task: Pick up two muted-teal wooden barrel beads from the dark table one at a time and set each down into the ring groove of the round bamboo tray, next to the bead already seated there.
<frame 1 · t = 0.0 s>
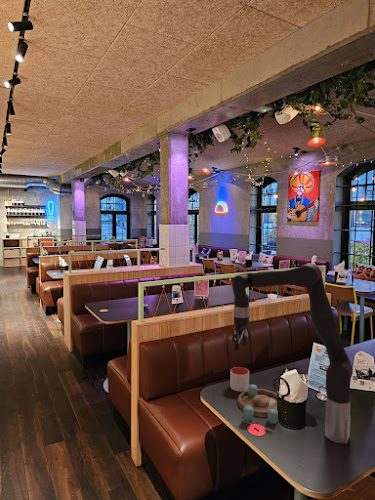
hand: (240, 347, 169), 29 cm above the table, fingers open, 8 cm apart
tray: (260, 405, 171), on the table
cup: (239, 389, 187), on the table
bead c: (252, 396, 177), point 1 cm above the table, touching tray
bead a: (272, 423, 156), on the table
bead b: (248, 419, 159), on the table
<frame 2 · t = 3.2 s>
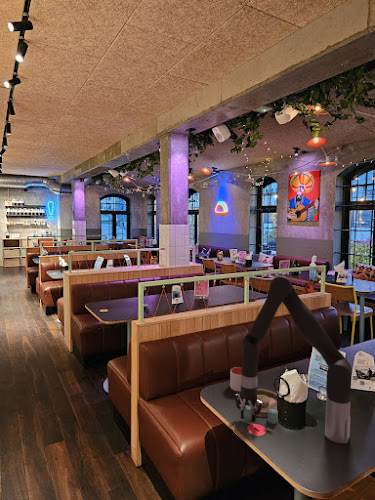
hand: (248, 419, 159), 0 cm above the table, fingers closed on bead b, 4 cm apart
bead b: (248, 419, 159), on the table, touching gripper
everything else where it was.
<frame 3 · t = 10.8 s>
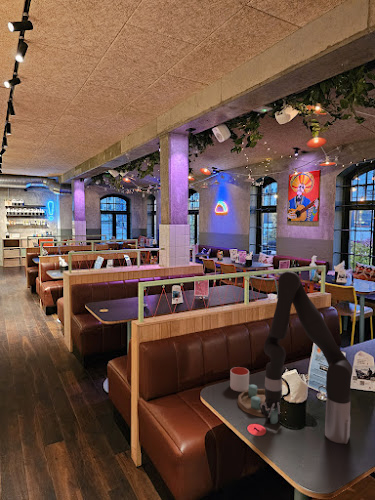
hand: (272, 422, 156), 0 cm above the table, fingers closed on bead a, 4 cm apart
bead a: (272, 422, 156), on the table, touching gripper
bead b: (255, 409, 165), point 1 cm above the table, touching tray
everything else where it was.
when the fingers open (3 cm above the table, at t = 14.8 s): bead a drops 2 cm, resting on tray.
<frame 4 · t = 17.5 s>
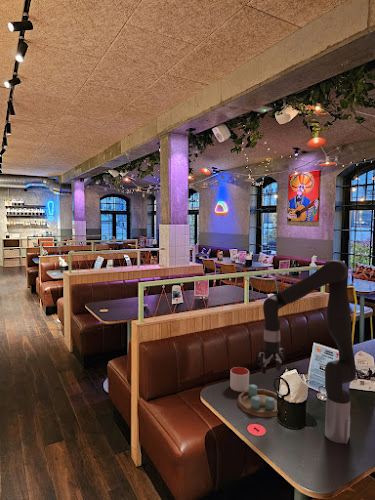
hand: (271, 371, 163), 20 cm above the table, fingers open, 8 cm apart
bead a: (269, 410, 165), point 1 cm above the table, touching tray
everything else where it was.
at the end: bead b 0.0 cm from the target spot on the tray, point 1.0 cm above the tray's base; bead a 0.2 cm from the target spot on the tray, point 1.0 cm above the tray's base; bead c moved 0.0 cm from its start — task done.
